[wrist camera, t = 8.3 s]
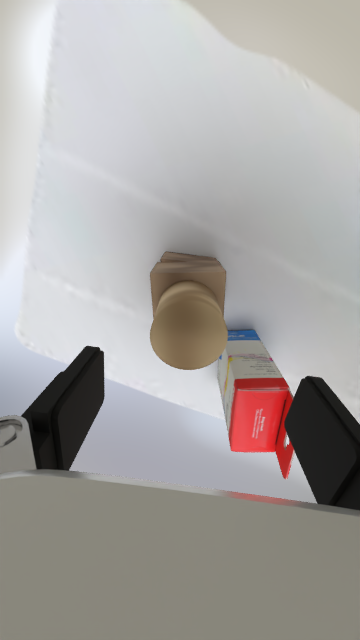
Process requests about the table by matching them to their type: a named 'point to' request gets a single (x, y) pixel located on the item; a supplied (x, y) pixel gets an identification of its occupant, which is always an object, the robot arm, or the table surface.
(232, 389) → the ink box
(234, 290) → the table surface
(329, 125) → the table surface
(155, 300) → the top block
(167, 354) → the beige knob
